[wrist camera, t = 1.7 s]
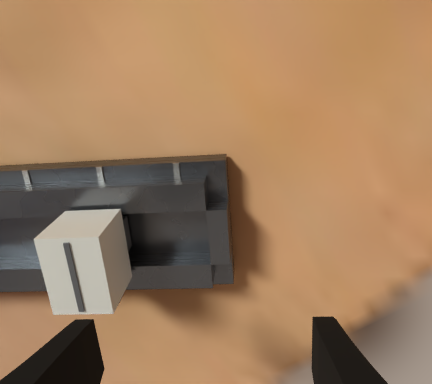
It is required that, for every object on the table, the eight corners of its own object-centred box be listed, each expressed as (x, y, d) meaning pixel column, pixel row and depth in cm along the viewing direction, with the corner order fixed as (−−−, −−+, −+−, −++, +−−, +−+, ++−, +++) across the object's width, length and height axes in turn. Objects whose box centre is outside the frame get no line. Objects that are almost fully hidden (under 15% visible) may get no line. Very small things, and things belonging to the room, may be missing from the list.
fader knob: (139, 261, 21) (112, 315, 17) (91, 262, 21) (52, 316, 17) (129, 197, 20) (97, 238, 16) (77, 199, 20) (32, 240, 16)
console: (234, 275, 23) (232, 302, 20) (-91, 282, 25) (-128, 307, 22) (226, 150, 20) (223, 164, 18) (-137, 169, 22) (-185, 184, 20)
